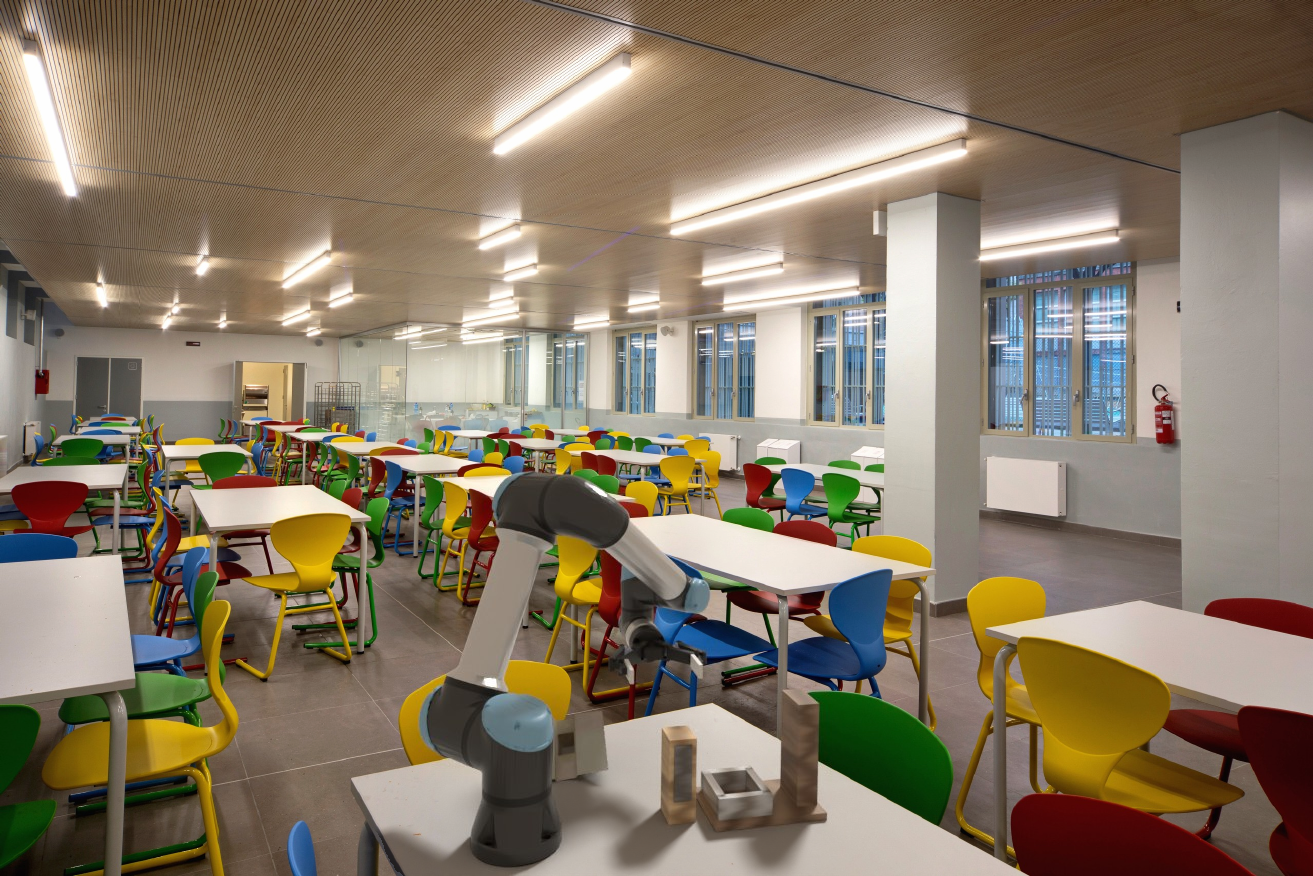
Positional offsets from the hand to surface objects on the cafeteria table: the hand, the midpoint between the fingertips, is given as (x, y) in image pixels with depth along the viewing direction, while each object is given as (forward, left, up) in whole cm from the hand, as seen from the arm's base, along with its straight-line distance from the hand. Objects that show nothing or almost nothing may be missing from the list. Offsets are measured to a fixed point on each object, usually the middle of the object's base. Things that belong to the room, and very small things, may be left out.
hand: (666, 674), depth 146 cm
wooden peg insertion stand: (+16, -9, -23) cm, 29 cm away
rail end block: (0, -9, -23) cm, 24 cm away
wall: (-17, +14, -23) cm, 32 cm away
